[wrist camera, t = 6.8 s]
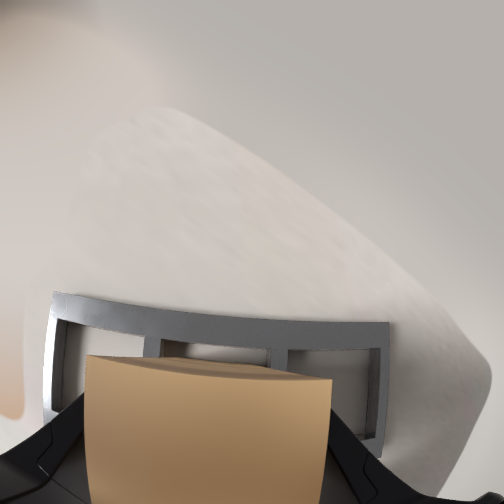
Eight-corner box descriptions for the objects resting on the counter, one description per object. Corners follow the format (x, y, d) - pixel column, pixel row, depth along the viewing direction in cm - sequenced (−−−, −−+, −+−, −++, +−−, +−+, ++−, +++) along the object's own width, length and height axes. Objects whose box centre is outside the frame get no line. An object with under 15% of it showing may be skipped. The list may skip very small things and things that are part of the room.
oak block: (246, 429, 15) (307, 554, 3) (175, 423, 14) (98, 535, 2) (250, 363, 16) (332, 379, 4) (179, 357, 16) (87, 354, 4)
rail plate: (370, 452, 15) (381, 457, 13) (54, 425, 13) (44, 429, 11) (378, 325, 18) (389, 322, 17) (63, 295, 16) (53, 290, 15)
